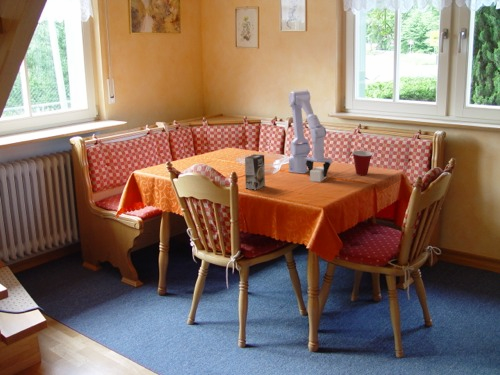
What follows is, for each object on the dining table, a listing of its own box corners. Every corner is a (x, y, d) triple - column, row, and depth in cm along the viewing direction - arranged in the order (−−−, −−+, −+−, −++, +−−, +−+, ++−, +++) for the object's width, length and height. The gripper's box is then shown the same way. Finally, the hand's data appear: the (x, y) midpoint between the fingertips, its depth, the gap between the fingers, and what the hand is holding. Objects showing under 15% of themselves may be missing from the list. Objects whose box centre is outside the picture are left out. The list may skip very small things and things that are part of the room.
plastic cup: (372, 177, 325) (372, 154, 322) (351, 176, 327) (351, 154, 324) (372, 171, 335) (373, 150, 332) (352, 171, 337) (352, 149, 334)
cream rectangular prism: (310, 181, 321) (310, 170, 320) (316, 176, 330) (316, 166, 328) (320, 182, 319) (320, 171, 317) (326, 177, 327) (326, 167, 326)
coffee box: (256, 190, 308) (255, 158, 304) (245, 188, 311) (244, 157, 307) (265, 185, 315) (264, 154, 311) (254, 184, 319) (253, 153, 314)
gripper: (302, 150, 320) (302, 176, 323) (328, 152, 313) (328, 178, 317) (307, 148, 326) (307, 173, 329) (333, 149, 319) (333, 175, 323)
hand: (318, 175), depth 324 cm, fingers open, 7 cm apart
